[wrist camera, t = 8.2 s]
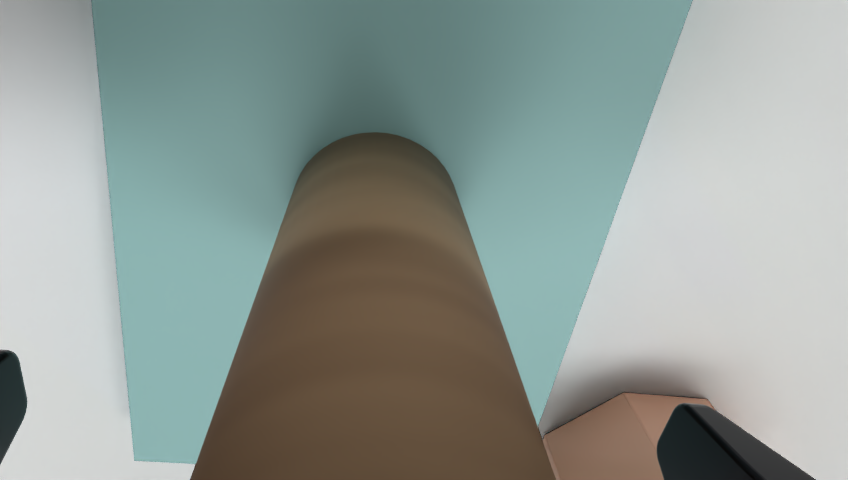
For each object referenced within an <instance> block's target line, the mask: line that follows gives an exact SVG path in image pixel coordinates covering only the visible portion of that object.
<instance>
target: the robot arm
mask: <svg viewBox="0 0 848 480" xmlns="http://www.w3.org/2000/svg"><path fill="white" fill-rule="evenodd" d="M26 408H27V396H26V391H25V387H24V382H23V377H22V372H21V367H20V362H19V359H18V357H17V355H16V354H15V353H14V352H12V351H9V350H0V464H1V462H2V460H3V458H4V456H5V454H6V452H7V450H8V448H9V446H10V444H11V443H12V441H13V439H14V437H15V435H16V433H17V431H18V429H19V427H20V425H21V423H22V421H23V419H24V416H25V413H26ZM657 458H658V462H659V465H660V469H661V472H662V475H663V478H664V480H816V479H814V478H813V477H811V476H810V475H808V474H807V473H805V472H804V471H803V470H801V469H800V468H798V467H797V466H795V465H794V464H792V463H791V462H789V461H788V460H787V459H785V458H784V457H782V456H781V455H779V454H778V453H776V452H775V451H774V450H772V449H771V448H769V447H768V446H766V445H765V444H763V443H762V442H760V441H759V440H758V439H756V438H755V437H753V436H752V435H750V434H749V433H747V432H746V431H745V430H743V429H742V428H740V427H739V426H737V425H736V424H734V423H733V422H731V421H730V420H729V419H727V418H726V417H724V416H723V415H721V414H720V413H718V412H717V411H716V410H714V409H713V408H711V407H709V406H707V405H703V404H691V403H681V404H679V405H678V406H676V407H675V408H674V410H673V412H672V414H671V416H670V418H669V420H668V422H667V424H666V426H665V428H664V430H663V432H662V433H661V435H660V437H659V440H658V442H657Z"/></svg>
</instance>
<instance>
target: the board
mask: <svg viewBox="0 0 848 480" xmlns="http://www.w3.org/2000/svg"><path fill="white" fill-rule="evenodd" d="M692 1H693V0H91V2H92V13H93V24H94V34H95V45H96V56H97V66H98V77H99V88H100V98H101V109H102V120H103V130H104V141H105V152H106V163H107V173H108V184H109V195H110V205H111V216H112V227H113V237H114V248H115V259H116V269H117V280H118V291H119V301H120V312H121V323H122V334H123V344H124V355H125V366H126V376H127V387H128V398H129V408H130V419H131V430H132V440H133V451H134V461H150V462H169V463H189V464H196V462H197V459H198V456H199V454H200V451H201V448H202V445H203V442H204V440H205V437H206V434H207V431H208V428H209V426H210V423H211V420H212V417H213V414H214V412H215V409H216V406H217V403H218V400H219V397H220V395H221V392H222V389H223V386H224V383H225V381H226V378H227V375H228V372H229V369H230V367H231V364H232V361H233V358H234V355H235V353H236V350H237V347H238V344H239V341H240V339H241V336H242V333H243V330H244V327H245V324H246V322H247V319H248V316H249V313H250V310H251V308H252V305H253V302H254V299H255V296H256V294H257V291H258V288H259V285H260V282H261V280H262V277H263V274H264V271H265V268H266V266H267V263H268V260H269V257H270V254H271V252H272V249H273V246H274V243H275V240H276V237H277V235H278V232H279V229H280V226H281V223H282V221H283V218H284V215H285V212H286V209H287V207H288V204H289V201H290V198H291V195H292V193H293V190H294V187H295V184H296V182H297V180H298V177H299V175H300V173H301V172H302V170H303V169H304V167H305V166H306V164H307V163H308V162H309V161H310V160H311V159H312V157H313V156H314V155H316V154H317V153H318V152H319V151H320V150H321V149H323V148H324V147H326V146H328V145H329V144H331V143H333V142H335V141H337V140H339V139H341V138H344V137H347V136H350V135H354V134H360V133H370V132H379V133H389V134H394V135H398V136H401V137H404V138H407V139H410V140H412V141H414V142H416V143H418V144H420V145H421V146H423V147H424V148H426V149H427V150H429V151H430V152H431V153H432V154H433V155H434V156H435V157H436V158H437V159H438V160H439V161H440V162H441V163H442V165H443V166H444V167H445V169H446V170H447V172H448V173H449V175H450V177H451V179H452V182H453V184H454V187H455V190H456V192H457V195H458V198H459V201H460V204H461V207H462V210H463V213H464V216H465V218H466V221H467V224H468V227H469V230H470V233H471V236H472V239H473V241H474V244H475V247H476V250H477V253H478V256H479V259H480V262H481V265H482V267H483V270H484V273H485V276H486V279H487V282H488V285H489V288H490V291H491V293H492V296H493V299H494V302H495V305H496V308H497V311H498V314H499V317H500V319H501V322H502V325H503V328H504V331H505V334H506V337H507V340H508V342H509V345H510V348H511V351H512V354H513V357H514V360H515V363H516V366H517V368H518V371H519V374H520V377H521V380H522V383H523V386H524V389H525V392H526V394H527V397H528V400H529V403H530V406H531V409H532V412H533V415H534V417H535V420H536V423H537V426H538V425H539V422H540V419H541V417H542V414H543V411H544V408H545V406H546V403H547V400H548V397H549V395H550V392H551V389H552V386H553V384H554V381H555V378H556V375H557V373H558V370H559V367H560V364H561V362H562V359H563V356H564V353H565V351H566V348H567V345H568V342H569V340H570V337H571V334H572V331H573V328H574V326H575V323H576V320H577V317H578V315H579V312H580V309H581V306H582V304H583V301H584V298H585V295H586V293H587V290H588V287H589V284H590V282H591V279H592V276H593V273H594V271H595V268H596V265H597V262H598V260H599V257H600V254H601V251H602V249H603V246H604V243H605V240H606V238H607V235H608V232H609V229H610V227H611V224H612V221H613V218H614V216H615V213H616V210H617V207H618V205H619V202H620V199H621V196H622V193H623V191H624V188H625V185H626V182H627V180H628V177H629V174H630V171H631V169H632V166H633V163H634V160H635V158H636V155H637V152H638V149H639V147H640V144H641V141H642V138H643V136H644V133H645V130H646V127H647V125H648V122H649V119H650V116H651V114H652V111H653V108H654V105H655V103H656V100H657V97H658V94H659V92H660V89H661V86H662V83H663V81H664V78H665V75H666V72H667V70H668V67H669V64H670V61H671V58H672V56H673V53H674V50H675V47H676V45H677V42H678V39H679V36H680V34H681V31H682V28H683V25H684V23H685V20H686V17H687V14H688V12H689V9H690V6H691V3H692Z"/></svg>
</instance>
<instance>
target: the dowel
mask: <svg viewBox="0 0 848 480" xmlns="http://www.w3.org/2000/svg"><path fill="white" fill-rule="evenodd" d="M190 480H556V478H555V475H554V472H553V469H552V467H551V464H550V461H549V458H548V455H547V452H546V449H545V446H544V443H543V441H542V438H541V435H540V432H539V429H538V426H537V423H536V420H535V417H534V415H533V412H532V409H531V406H530V403H529V400H528V397H527V394H526V392H525V389H524V386H523V383H522V380H521V377H520V374H519V371H518V368H517V366H516V363H515V360H514V357H513V354H512V351H511V348H510V345H509V342H508V340H507V337H506V334H505V331H504V328H503V325H502V322H501V319H500V317H499V314H498V311H497V308H496V305H495V302H494V299H493V296H492V293H491V291H490V288H489V285H488V282H487V279H486V276H485V273H484V270H483V267H482V265H481V262H480V259H479V256H478V253H477V250H476V247H475V244H474V241H473V239H472V236H471V233H470V230H469V227H468V224H467V221H466V218H465V216H464V213H463V210H462V207H461V204H460V201H459V198H458V195H457V192H456V190H455V187H454V184H453V182H452V179H451V177H450V175H449V173H448V172H447V170H446V169H445V167H444V166H443V165H442V163H441V162H440V161H439V160H438V159H437V158H436V157H435V156H434V155H433V154H432V153H431V152H430V151H429V150H427V149H426V148H424V147H423V146H421V145H420V144H418V143H416V142H414V141H412V140H410V139H407V138H404V137H401V136H398V135H394V134H389V133H379V132H370V133H360V134H354V135H350V136H347V137H344V138H341V139H339V140H337V141H335V142H333V143H331V144H329V145H328V146H326V147H324V148H323V149H321V150H320V151H319V152H318V153H317V154H316V155H314V156H313V157H312V159H311V160H310V161H309V162H308V163H307V164H306V166H305V167H304V169H303V170H302V172H301V173H300V175H299V177H298V180H297V182H296V184H295V187H294V190H293V193H292V195H291V198H290V201H289V204H288V207H287V209H286V212H285V215H284V218H283V221H282V223H281V226H280V229H279V232H278V235H277V237H276V240H275V243H274V246H273V249H272V252H271V254H270V257H269V260H268V263H267V266H266V268H265V271H264V274H263V277H262V280H261V282H260V285H259V288H258V291H257V294H256V296H255V299H254V302H253V305H252V308H251V310H250V313H249V316H248V319H247V322H246V324H245V327H244V330H243V333H242V336H241V339H240V341H239V344H238V347H237V350H236V353H235V355H234V358H233V361H232V364H231V367H230V369H229V372H228V375H227V378H226V381H225V383H224V386H223V389H222V392H221V395H220V397H219V400H218V403H217V406H216V409H215V412H214V414H213V417H212V420H211V423H210V426H209V428H208V431H207V434H206V437H205V440H204V442H203V445H202V448H201V451H200V454H199V456H198V459H197V462H196V465H195V468H194V470H193V473H192V476H191V479H190Z"/></svg>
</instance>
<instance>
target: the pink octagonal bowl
mask: <svg viewBox="0 0 848 480" xmlns="http://www.w3.org/2000/svg"><path fill="white" fill-rule="evenodd" d="M681 403H691V404H703V405H707V406H709V407H711V408H713V409H714V407H713V406H712V405H711V403H710V402H709V401H708V399H698V398H686V397H673V396H661V395H648V394H636V393H625V392H624V393H622V394H620V395H618V396H616V397H615V398H613V399H611V400H609V401H607V402H605V403H603V404H602V405H600V406H598V407H596V408H594V409H592V410H590V411H589V412H587V413H585V414H583V415H581V416H579V417H578V418H576V419H574V420H572V421H570V422H568V423H566V424H565V425H563V426H561V427H559V428H557V429H555V430H553V431H552V432H550V433H548V434H546V435H544V438H543V443H544V446H545V449H546V452H547V455H548V458H549V461H550V464H551V467H552V469H553V472H554V475H555V478H556V480H664V478H663V475H662V472H661V469H660V465H659V462H658V458H657V442H658V440H659V437H660V435H661V433H662V432H663V430H664V428H665V426H666V424H667V422H668V420H669V418H670V416H671V414H672V412H673V410H674V408H675V407H676V406H678V405H679V404H681ZM714 410H715V409H714Z"/></svg>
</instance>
